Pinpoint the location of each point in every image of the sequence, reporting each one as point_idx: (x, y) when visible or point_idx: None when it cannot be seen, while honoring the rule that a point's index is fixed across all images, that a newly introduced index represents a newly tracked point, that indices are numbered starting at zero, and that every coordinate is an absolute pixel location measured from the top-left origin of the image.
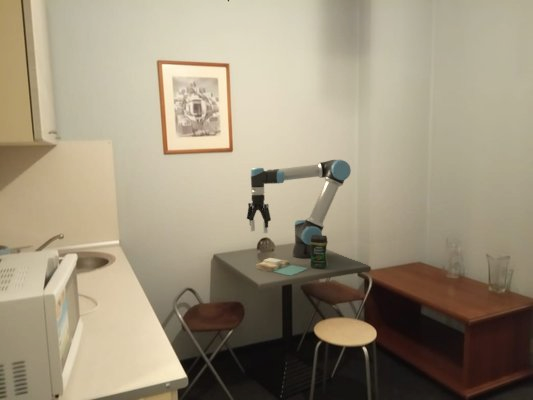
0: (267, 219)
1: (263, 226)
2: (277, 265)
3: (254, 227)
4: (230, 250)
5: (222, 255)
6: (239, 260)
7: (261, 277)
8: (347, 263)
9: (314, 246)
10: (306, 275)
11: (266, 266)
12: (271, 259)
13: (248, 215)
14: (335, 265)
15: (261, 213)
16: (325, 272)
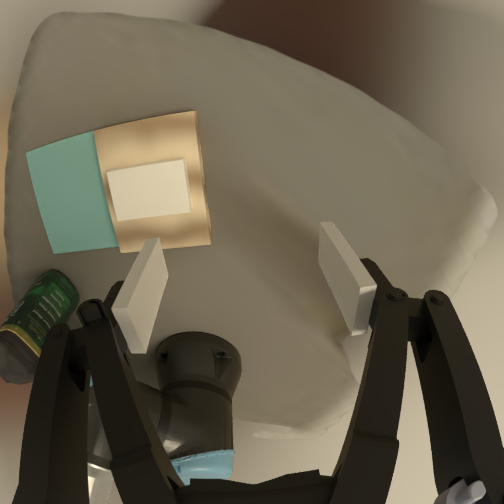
0: (52, 340)
1: (139, 274)
2: (102, 171)
3: (327, 280)
4: (469, 250)
5: (462, 181)
6: (365, 161)
7: (83, 51)
8: None
9: (9, 320)
10: (10, 197)
11: (124, 123)
12: (160, 194)
13: (441, 329)
14: None
15: (130, 419)
16: (10, 259)
